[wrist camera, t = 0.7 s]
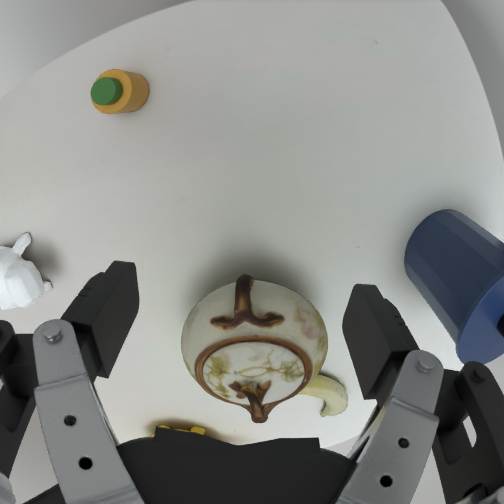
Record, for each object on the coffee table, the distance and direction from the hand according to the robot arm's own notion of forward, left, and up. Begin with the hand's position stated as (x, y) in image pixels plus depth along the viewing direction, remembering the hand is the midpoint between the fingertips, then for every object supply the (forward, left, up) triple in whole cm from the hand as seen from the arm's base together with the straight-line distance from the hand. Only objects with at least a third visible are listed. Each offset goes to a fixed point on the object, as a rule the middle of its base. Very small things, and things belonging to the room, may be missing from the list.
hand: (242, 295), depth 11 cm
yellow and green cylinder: (-9, -12, -20) cm, 25 cm away
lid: (+8, +23, -6) cm, 26 cm away
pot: (+8, +23, -20) cm, 32 cm away
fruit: (+32, +9, -20) cm, 39 cm away
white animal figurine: (+10, -31, -20) cm, 38 cm away
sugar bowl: (+16, 0, -20) cm, 26 cm away
